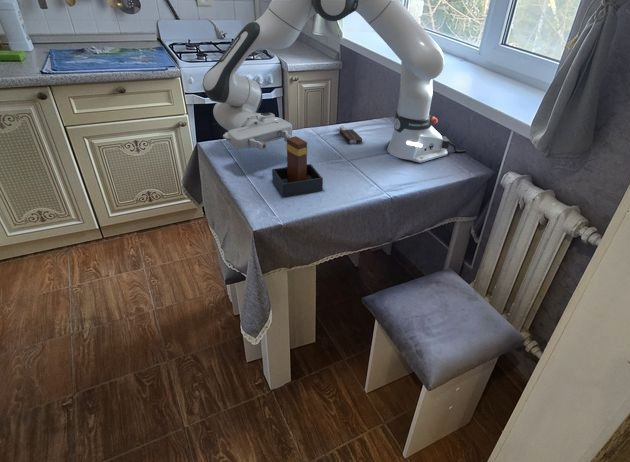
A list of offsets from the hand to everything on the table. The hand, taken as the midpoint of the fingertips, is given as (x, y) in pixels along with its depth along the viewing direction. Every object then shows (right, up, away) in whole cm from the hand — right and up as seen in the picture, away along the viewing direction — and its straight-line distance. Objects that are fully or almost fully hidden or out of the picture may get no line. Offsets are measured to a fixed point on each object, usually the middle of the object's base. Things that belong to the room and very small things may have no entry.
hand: (277, 142), depth 128 cm
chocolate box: (+6, -12, +1) cm, 13 cm away
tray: (+6, -13, +1) cm, 14 cm away
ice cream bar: (+19, +10, +36) cm, 42 cm away
